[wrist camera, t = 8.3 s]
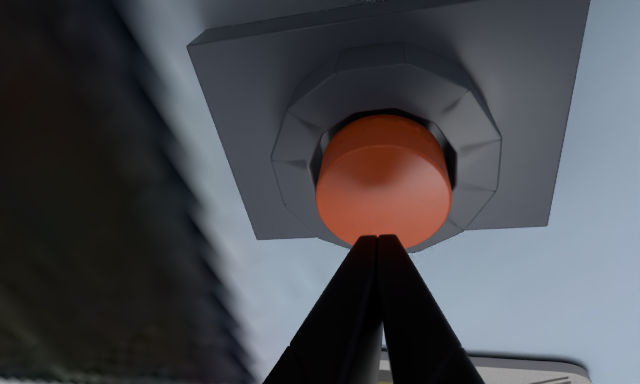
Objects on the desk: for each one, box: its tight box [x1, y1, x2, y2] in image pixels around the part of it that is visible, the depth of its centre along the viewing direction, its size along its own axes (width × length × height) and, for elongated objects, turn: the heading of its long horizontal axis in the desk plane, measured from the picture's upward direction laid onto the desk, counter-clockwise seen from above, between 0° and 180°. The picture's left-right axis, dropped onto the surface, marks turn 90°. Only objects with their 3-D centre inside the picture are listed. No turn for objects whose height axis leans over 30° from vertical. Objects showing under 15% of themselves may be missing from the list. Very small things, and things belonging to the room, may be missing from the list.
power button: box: [315, 114, 452, 249], centre depth 11 cm, size 4×4×2 cm
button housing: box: [187, 0, 590, 253], centre depth 13 cm, size 11×8×4 cm
